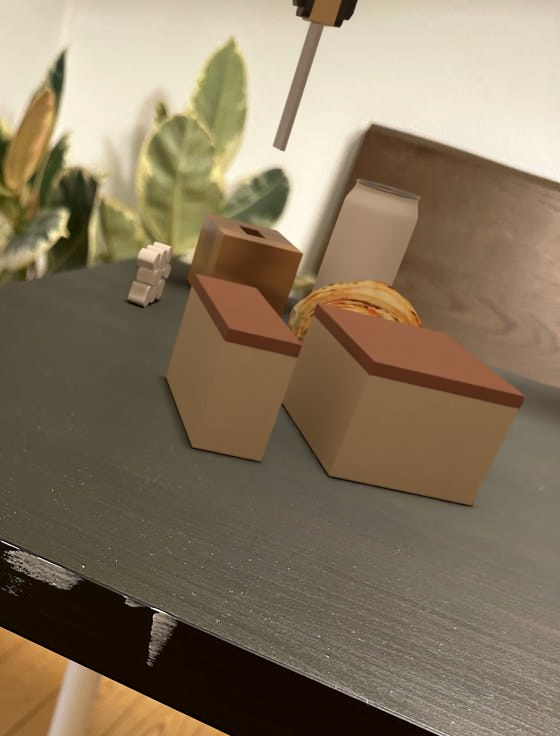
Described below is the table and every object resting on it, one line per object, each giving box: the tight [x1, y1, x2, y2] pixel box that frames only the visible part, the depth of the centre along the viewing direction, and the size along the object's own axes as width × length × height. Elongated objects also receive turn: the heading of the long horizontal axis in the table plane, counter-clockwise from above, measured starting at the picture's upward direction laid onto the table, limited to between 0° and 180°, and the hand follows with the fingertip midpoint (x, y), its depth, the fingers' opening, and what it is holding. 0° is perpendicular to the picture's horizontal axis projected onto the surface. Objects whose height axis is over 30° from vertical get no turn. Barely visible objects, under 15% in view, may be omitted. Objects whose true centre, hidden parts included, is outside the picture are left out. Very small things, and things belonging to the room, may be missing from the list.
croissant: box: [287, 279, 422, 345], centre depth 73 cm, size 21×10×8 cm, turn 163°
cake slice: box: [165, 274, 302, 462], centre depth 56 cm, size 4×12×7 cm, turn 2°
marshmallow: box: [127, 241, 174, 308], centre depth 78 cm, size 5×1×4 cm, turn 156°
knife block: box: [186, 212, 304, 319], centre depth 86 cm, size 7×10×6 cm
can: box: [311, 178, 422, 293], centre depth 85 cm, size 6×6×12 cm
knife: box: [272, 0, 342, 152], centre depth 76 cm, size 2×3×14 cm, turn 2°
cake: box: [282, 303, 526, 506], centre depth 58 cm, size 9×12×7 cm
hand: (318, 20), depth 75 cm, fingers closed on knife, 2 cm apart
